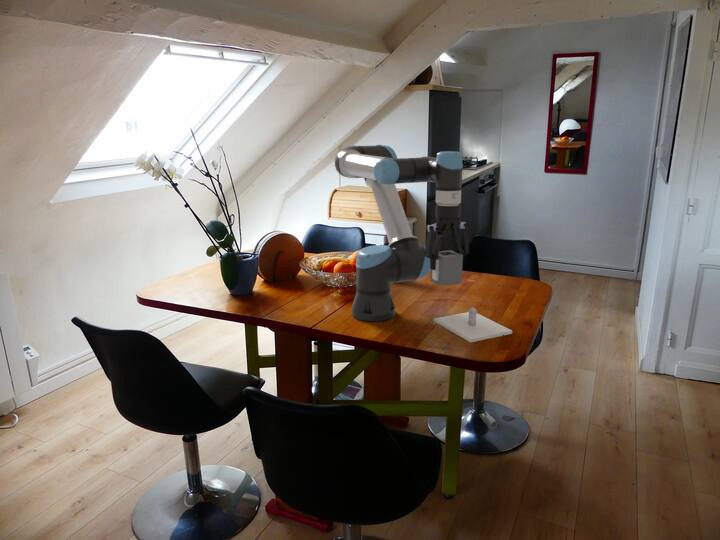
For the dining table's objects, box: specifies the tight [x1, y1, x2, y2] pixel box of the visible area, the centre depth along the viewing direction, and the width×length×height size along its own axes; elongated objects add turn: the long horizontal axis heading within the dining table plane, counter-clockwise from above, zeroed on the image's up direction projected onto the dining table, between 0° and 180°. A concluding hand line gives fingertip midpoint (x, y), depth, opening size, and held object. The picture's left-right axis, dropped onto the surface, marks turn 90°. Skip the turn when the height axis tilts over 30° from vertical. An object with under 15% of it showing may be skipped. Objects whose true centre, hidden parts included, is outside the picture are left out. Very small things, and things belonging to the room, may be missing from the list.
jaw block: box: [429, 249, 464, 287], centre depth 169 cm, size 7×7×9 cm
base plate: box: [433, 307, 513, 344], centre depth 177 cm, size 16×20×7 cm
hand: (446, 278), depth 170 cm, fingers closed on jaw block, 7 cm apart
